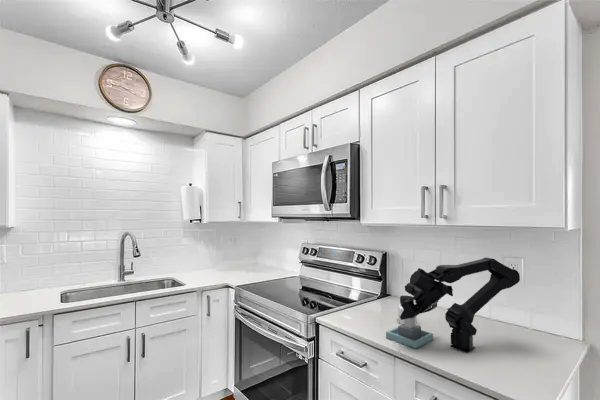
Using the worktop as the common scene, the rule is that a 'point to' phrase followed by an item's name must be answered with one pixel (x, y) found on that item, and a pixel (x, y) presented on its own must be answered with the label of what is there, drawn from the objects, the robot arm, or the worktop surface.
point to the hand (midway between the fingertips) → (406, 316)
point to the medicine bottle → (400, 309)
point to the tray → (424, 339)
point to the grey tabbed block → (410, 329)
